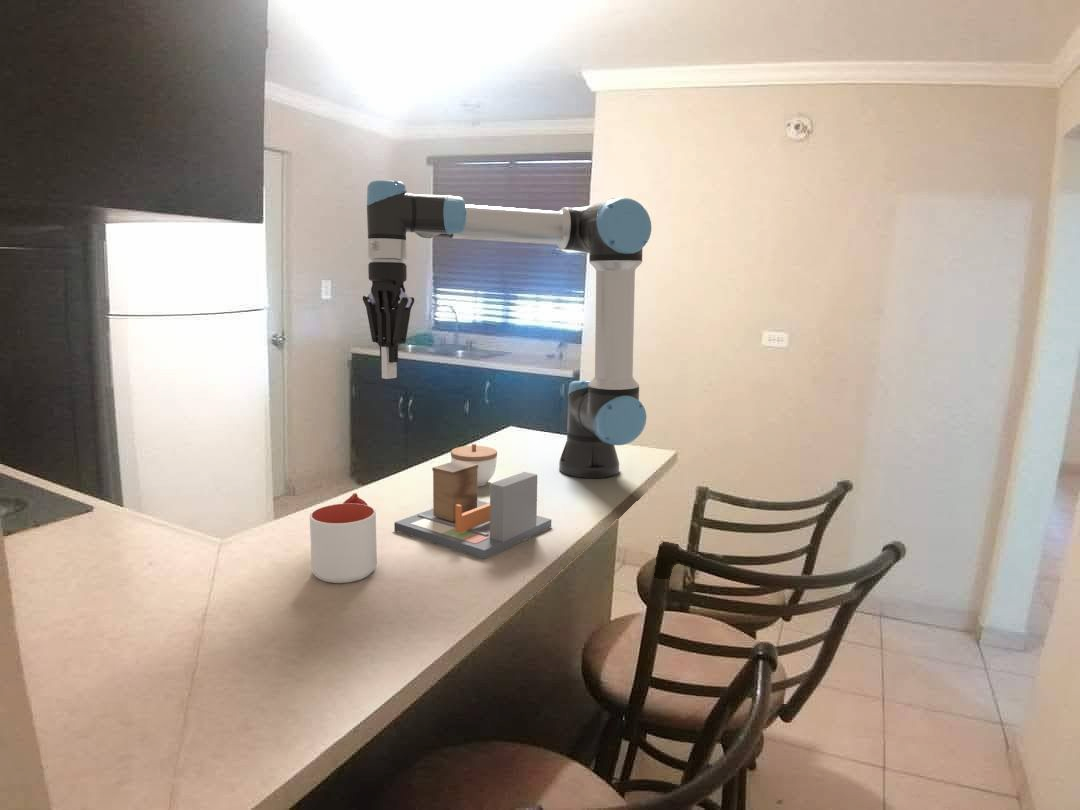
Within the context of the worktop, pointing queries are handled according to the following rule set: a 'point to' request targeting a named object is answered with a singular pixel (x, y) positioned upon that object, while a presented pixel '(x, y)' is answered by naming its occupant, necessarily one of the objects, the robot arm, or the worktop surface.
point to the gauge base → (506, 526)
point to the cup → (343, 542)
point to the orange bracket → (471, 517)
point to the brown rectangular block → (454, 488)
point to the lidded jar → (477, 460)
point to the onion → (355, 500)
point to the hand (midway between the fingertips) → (389, 377)
